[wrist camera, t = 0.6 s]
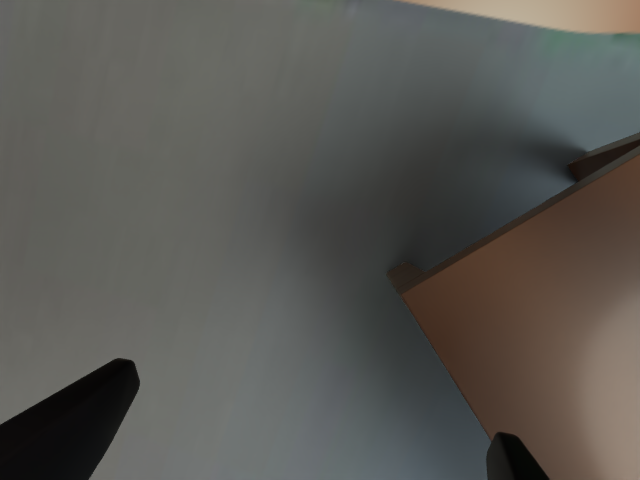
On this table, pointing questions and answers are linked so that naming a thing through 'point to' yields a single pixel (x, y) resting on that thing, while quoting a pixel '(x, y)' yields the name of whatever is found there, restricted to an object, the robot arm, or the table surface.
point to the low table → (550, 321)
